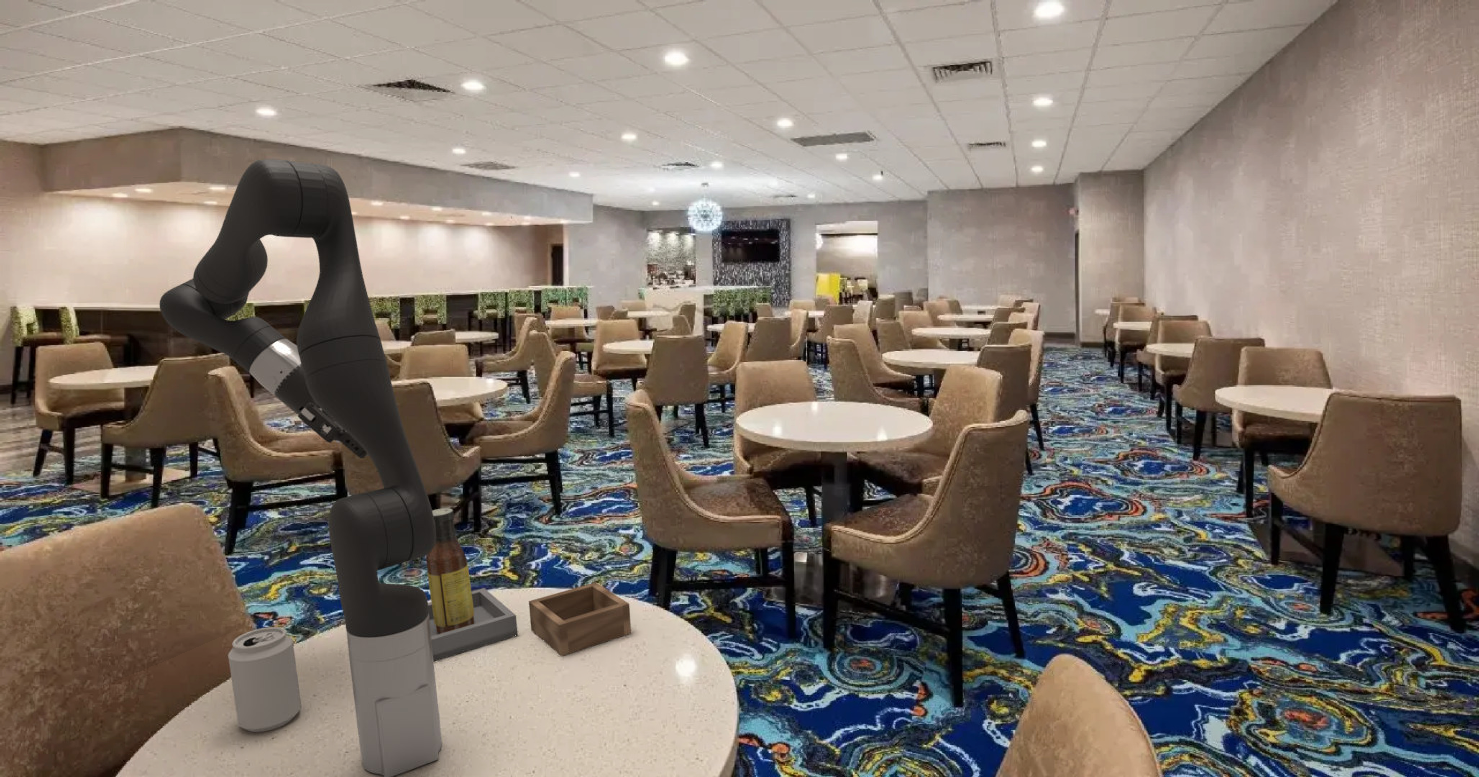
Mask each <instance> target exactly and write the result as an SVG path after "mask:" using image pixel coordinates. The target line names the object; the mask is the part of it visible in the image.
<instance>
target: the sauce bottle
mask: <svg viewBox="0 0 1479 777" xmlns="http://www.w3.org/2000/svg"><path fill="white" fill-rule="evenodd" d="M432 512H433V516H434V521H435V530H436V538H435V544H434V547H433V549H432V550H431V552H430V553H428V554H427V555H425V562H426V567H427V572H426V573H427V579H428V586H429V593H430V594H429V595H430V600H431V602H432V609H433V617H434V623H435V625H436V629H437V632H438V633H439V634H441V633H445V632H448V631H452V630H455V629H459V628H462V627H466V626H469V625H473V624H474V607H473V600H472V593H471V591H472V586H471V579H470V574H469V573H470V572H469V565H468V559H467V558H468V557H467V556H466V554H465V552H464V550H463V548H462V546H461V544H460V542H459V539H458V537H457V535H456V534H457V533H456V530H455V523H454V518H455V514H454V509H452V508H448V507H446V508H445V507H444V508H438V509H434V510H433V509H432Z"/></svg>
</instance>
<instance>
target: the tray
mask: <svg viewBox="0 0 1479 777" xmlns="http://www.w3.org/2000/svg"><path fill="white" fill-rule="evenodd" d="M471 593H472V600H473V607H474V624H473V625H469V626H466V627H462V628H459V629H455V630H452V631H448V632H445V633H441V634H439V633H438V632H437V629H436V625H435V623H434V617H433V609H432V602H428V610H429V620H430V630H431V641H432V651H433V660H434V662H436V661H439V660H443V659H445V658H449V657H452V656H456V655H459V654H462V653H466V652H469V651H471V650H475V649H478V648H482V647H484V646H488V645H492V644H494V643H498V642H501V640H502V641H504V640H508V639H511V637H512V636H515V635H518V636H519V634H518V623H517V614H515V613H514V612H513V611H511V609H510V608H508V607H507V606H506V605H505V604H503V602H501V601H500V600H499V599H498V598H497V597H495V596H494V595H493V594H492V593H491V592H489V590H487V589H486V588H485V587H483V588H480V589H475V590H471ZM515 637H516V636H515ZM507 638H508V639H507ZM512 638H513V637H512ZM468 650H469V651H468Z"/></svg>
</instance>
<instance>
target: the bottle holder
mask: <svg viewBox="0 0 1479 777" xmlns="http://www.w3.org/2000/svg"><path fill="white" fill-rule="evenodd" d="M528 608H529V620H530V621H529V622H530V629H531V630H530V631H531V632H533V633H534V634H535V633H536V634H537V637H539V638H540V639H541V640H542V641H543V640H544V641H543V642H544V643H545V644H547V645H548V646H549V645H550V646H549V647H550V648H552V649H553V651H555V650H556V651H557V652H556V651H555V652H556V653H557V654H558V655H560V656H561V657H564V656H567V655H570V654H573V653H576V652H578V651H581V650H584V649H587V648H590V647H591V648H592V647H593V646H596V645H600V644H603V643H606V642H609V641H611V640H615V639H618V638H621V637H624V636H626V635H629V634H632V627H631V610H630V609H631V608H630V603H629V602H627V601H626V600H624V599H623V598H621V597H619V595H617V594H614V593H613V592H611V591H610V590H608V589H607V588H605V587H604V586H602V585H601V584H600V583H597V582H592V583H589V584H585V585H581V586H577V587H575V588H571V589H567V590H563V591H560V592H557V593H553V594H550V595H549V594H548V595H546V596H543V597H539V598H536V599H531V600H529V601H528ZM536 634H535V635H536Z"/></svg>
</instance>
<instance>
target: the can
mask: <svg viewBox="0 0 1479 777" xmlns="http://www.w3.org/2000/svg"><path fill="white" fill-rule="evenodd" d="M231 644H232V648H231V650H230V651H229V652H228V654H227V656H228V663H229V664H228V665H229V669H230V678H231V683H232V684H231V685H232V692H233V699H234V705H235V713H236V719H237V720H236V721H237V725H238V726H239V727H240V728H241V729H245V730H246V731H248V732H254V733H261V732H262V733H263V732H267V731H270V730H274V729H277V728H280V727H282V726H285V725H286V724H288V723H289V722H291V720H293V719H294V717H295V716H296V715H297V713H298V712H300V711H301V708H302V702H301V695H300V686H299V679H298V677H299V676H298V671H297V665H296V664H297V663H296V657H295V656H296V655H295V648H294V642H293V637H291V636H289V635H287V630H286V629H285V628H283V627H278V626H267V627H262V628H258V629H253V630H250V631H248V632H244V633H243V634H240V635H239V636H238V637H235V639H234V640H233V641H232V643H231Z"/></svg>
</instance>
